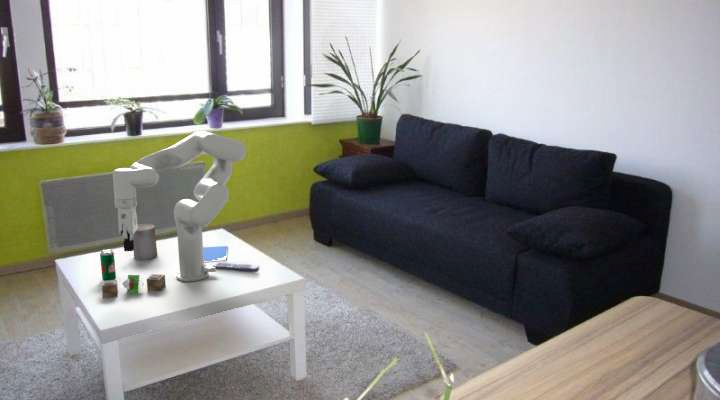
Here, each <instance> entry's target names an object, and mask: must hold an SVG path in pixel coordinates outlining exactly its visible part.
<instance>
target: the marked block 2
mask: <svg viewBox="0 0 720 400" xmlns="http://www.w3.org/2000/svg"><path fill="white" fill-rule="evenodd" d="M166 287H167V286H166V275H165V274H158V273H157V274H155V273H152V274H151V275H149V276H148V277H147V278H146V291H147V292H157V293H158V292H159V293H161V291H163V290H164V289H165V288H166Z"/></svg>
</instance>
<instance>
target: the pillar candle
mask: <svg viewBox="0 0 720 400" xmlns="http://www.w3.org/2000/svg"><path fill="white" fill-rule="evenodd" d="M137 224H138V223H137ZM132 240H133V241H134V250H133V258H134V259H135V260H137V261H144V260H145V261H146V260H152V259H154V258H156V257H157V256H158V247H157V237H156V228H155V225H154V224H152V223H140V224H138V228H137V230H136V231H135V233H134V234H133V239H132Z"/></svg>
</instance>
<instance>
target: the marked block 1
mask: <svg viewBox="0 0 720 400" xmlns="http://www.w3.org/2000/svg"><path fill="white" fill-rule="evenodd" d="M101 290H102V291H101V292H102V293H101V294H102V299H110V298H117V297H118V295H119V289H118V280H117V279H115V280H108V281H103V280H102V281H101Z"/></svg>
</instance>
